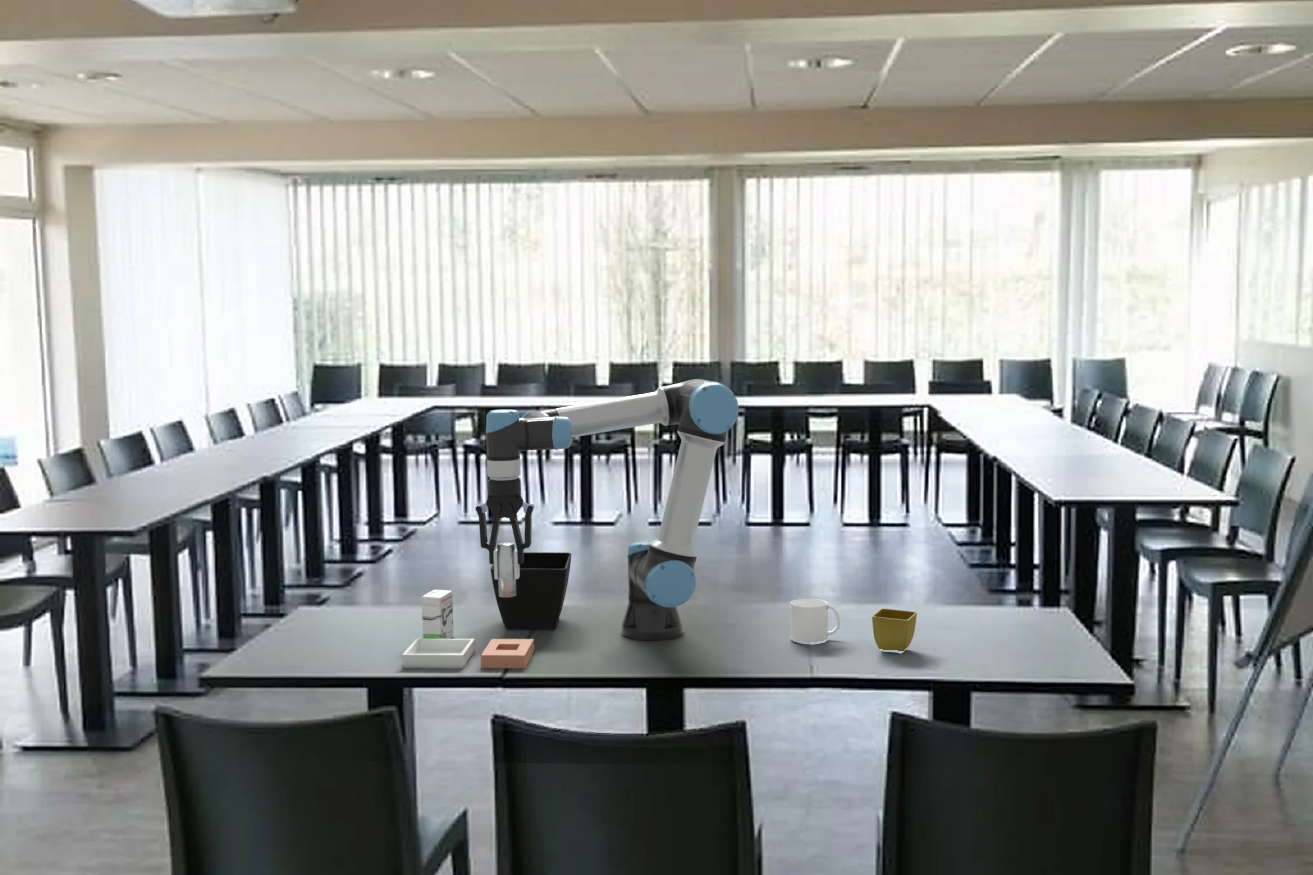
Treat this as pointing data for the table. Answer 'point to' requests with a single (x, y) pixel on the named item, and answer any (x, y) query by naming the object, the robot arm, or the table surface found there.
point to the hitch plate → (507, 653)
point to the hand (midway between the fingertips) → (507, 577)
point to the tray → (438, 653)
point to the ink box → (437, 614)
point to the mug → (810, 620)
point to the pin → (506, 570)
